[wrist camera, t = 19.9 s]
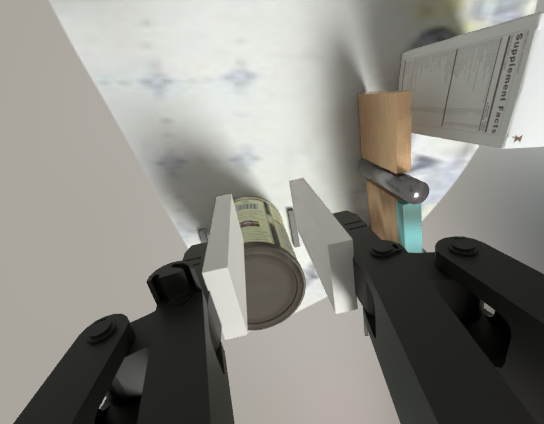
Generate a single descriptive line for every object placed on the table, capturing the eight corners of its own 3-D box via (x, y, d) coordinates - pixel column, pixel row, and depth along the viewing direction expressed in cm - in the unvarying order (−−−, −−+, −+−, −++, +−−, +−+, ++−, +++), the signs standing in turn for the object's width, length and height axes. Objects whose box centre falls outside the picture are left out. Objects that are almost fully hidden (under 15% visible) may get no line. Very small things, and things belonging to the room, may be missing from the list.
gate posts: (352, 95, 35) (406, 93, 24) (387, 87, 35) (456, 83, 24) (362, 236, 43) (405, 283, 32) (390, 229, 43) (442, 275, 32)
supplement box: (454, 128, 38) (604, 149, 22) (390, 131, 37) (500, 155, 22) (471, 48, 34) (665, 7, 19) (401, 49, 33) (543, 7, 18)
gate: (363, 180, 38) (402, 205, 29) (377, 176, 38) (420, 200, 29) (373, 262, 44) (408, 305, 35) (385, 259, 44) (423, 301, 35)
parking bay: (198, 230, 39) (195, 240, 36) (293, 209, 40) (297, 217, 37) (217, 285, 43) (216, 298, 40) (303, 266, 44) (307, 277, 41)
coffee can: (238, 270, 43) (239, 346, 30) (198, 219, 39) (179, 281, 26) (296, 238, 42) (323, 301, 29) (261, 182, 38) (274, 226, 25)
